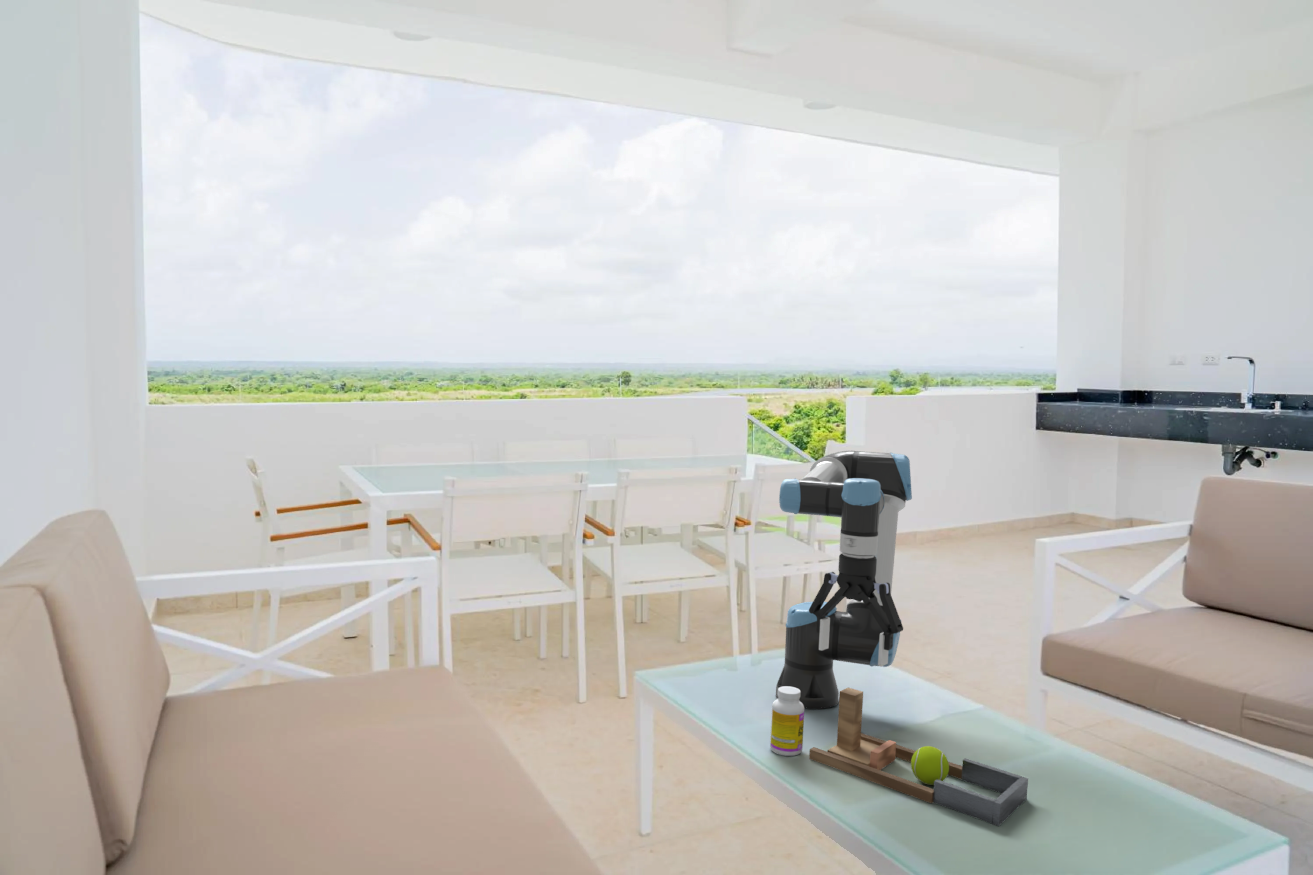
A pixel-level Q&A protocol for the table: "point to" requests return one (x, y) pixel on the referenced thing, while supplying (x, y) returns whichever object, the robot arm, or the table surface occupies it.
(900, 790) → the track rails
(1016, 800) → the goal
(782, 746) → the supplement bottle
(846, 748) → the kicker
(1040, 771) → the table surface
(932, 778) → the tennis ball
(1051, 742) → the table surface
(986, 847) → the table surface
